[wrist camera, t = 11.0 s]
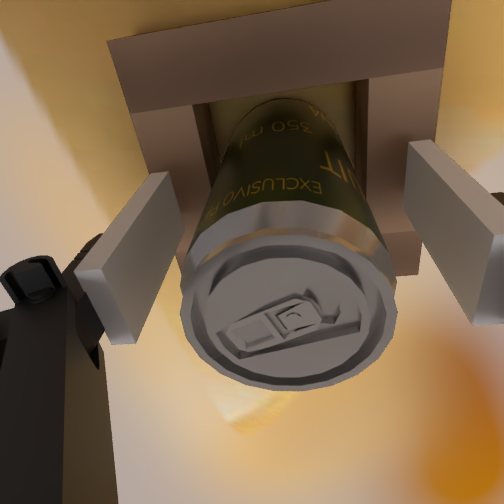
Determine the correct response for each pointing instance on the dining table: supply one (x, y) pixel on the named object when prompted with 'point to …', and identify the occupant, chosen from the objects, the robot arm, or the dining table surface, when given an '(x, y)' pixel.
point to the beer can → (288, 259)
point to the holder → (290, 78)
